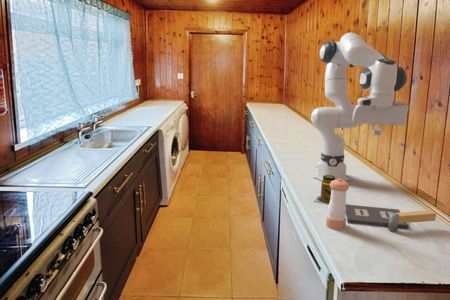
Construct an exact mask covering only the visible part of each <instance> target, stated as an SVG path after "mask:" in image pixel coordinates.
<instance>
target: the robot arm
mask: <svg viewBox="0 0 450 300" xmlns="http://www.w3.org/2000/svg"><path fill="white" fill-rule="evenodd" d="M319 59H320V61H321V62H322V63H325V64H326V66H325V73H324V96H325V98H326V99H327V100H329V101H331V102H333V104H334V105H335V106H322V107H321V106H320V107H317V108H314V109H313V110H312V112H311V114H310V120H311V123H312V125H313V126H314V127H315V128H316V129H317V130H318V131H319V133H320V134H321V138H322V150H321V154H320V161H319V162H318V163H316V171H315V172H314V174H313V175H312V178H313V179H317V180H318V181H321V182H322V181H323V176H324V175H331V176H334V177H335V180H338V179H342V180H343V181H346V182H348V181H349V180H350V178H349V177H348V176H347V165H346V163H345V162H344V161H345V145H346V144H345V139H344V137H343V136H341V135H339V134H338V133H336V132H335V131H336V129H352V128H357V127H358V126H359V125H360V124H366V125H367V124H368V125H370V128H372V135H373V136H381V135H382V132H383V130H384V129H386V125H387V126H400V127H403V126H405V125H406V124H407V118H408V117H407V116H408V115H407V113H408V112H409V107H410V106H409V104H408V103H406V102H404V101H394V100H395V99H394V98H395V92H399V91H400V90H401V89H402V88H404V86H405V85H406V83H407V80H408V74H407V72H406V71H405V69H404V68H403V67H402V66H398V64H397V62H396V61H395V60H393V59H391V58H388V57H386V55H385V54H383V53H382V52H380V51H379V50H376V49H375V48H373V47H372V46H370V44H368V43H367V42H366V41H365V40H364V39H363V38H362V37H361V36H360V35H358V34H357V33H355V32H346V33H345V34H343V35H342V36H341V37H340V40H339V41H334V40H331V41H326V42H324V43H323V44H322V45H321V46H320V50H319ZM354 66H356V67H365V68H363V69H362V71H360V73H359V77H358V83H359V85H360V87H361V88H362V89H363V90H366V91H367V90H368V91H370V94H369V95H368V96H367V95H366V96H363V97H359V98H358V99H357V104H356V105H355V106H354V105H353V103H352V101H351V100H350V98H349V96H348V94H349V93H348V85H347V83H348V80H347V68H348V67H350V68H354ZM376 125H380V128H379V129H376V128H375V127H376Z"/></svg>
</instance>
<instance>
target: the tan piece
mask: <svg viewBox="0 0 450 300" xmlns="http://www.w3.org/2000/svg"><path fill="white" fill-rule="evenodd" d="M400 212H401V211H400ZM436 218H437V213H436V212H434V211H433V210H430V209H429V210H417V211H405V212H404V211H403V212H401V213H390V218H389V226H388V227H387V230H389V231H391V232H397V231H398V229H399V228H398V224H400V223H407V224H410V223H423V222H435V221H436Z"/></svg>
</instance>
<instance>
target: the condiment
mask: <svg viewBox="0 0 450 300" xmlns="http://www.w3.org/2000/svg"><path fill="white" fill-rule="evenodd" d="M333 180H335V177H334V176H331V175H324V176H323V181H321V188H320V190H321V191H320V196H319V195H318V196H317V197H316V198H315V200H314V202H315V203H318V204H319V203H321V204H324V205H328V206H329V203H330V199H331V188H330V183H331V182H332V181H333Z"/></svg>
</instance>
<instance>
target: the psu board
mask: <svg viewBox="0 0 450 300" xmlns="http://www.w3.org/2000/svg"><path fill="white" fill-rule="evenodd" d="M390 213H401V211H400V209H399V208H397V209H396V208H387V207H376V206H366V205H355V204H346V215H345V217H346V222H347V223H348V224H354V225H355V224H356V225H357V224H358V225H365V226H366V225H367V226H374V227H375V226H377V227H387V228H388V226H389V218H390ZM408 224H409V223H400V224H398V228H397V229H405V230H408V228H409V225H408Z"/></svg>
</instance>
